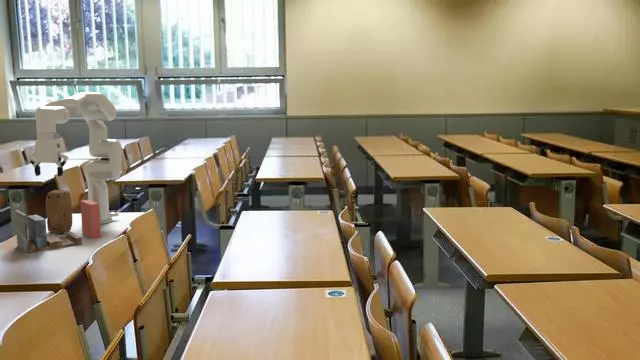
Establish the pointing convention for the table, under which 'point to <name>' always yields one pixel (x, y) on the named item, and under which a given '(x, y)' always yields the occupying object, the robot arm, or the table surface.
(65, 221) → the block
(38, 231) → the book stand
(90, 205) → the book
